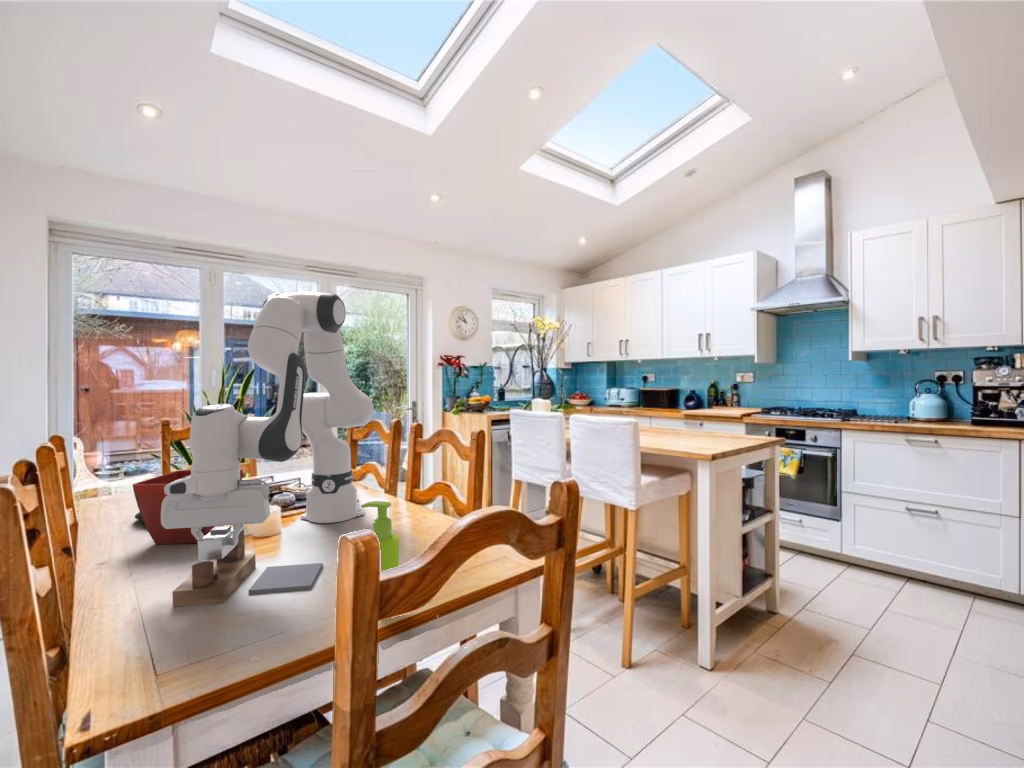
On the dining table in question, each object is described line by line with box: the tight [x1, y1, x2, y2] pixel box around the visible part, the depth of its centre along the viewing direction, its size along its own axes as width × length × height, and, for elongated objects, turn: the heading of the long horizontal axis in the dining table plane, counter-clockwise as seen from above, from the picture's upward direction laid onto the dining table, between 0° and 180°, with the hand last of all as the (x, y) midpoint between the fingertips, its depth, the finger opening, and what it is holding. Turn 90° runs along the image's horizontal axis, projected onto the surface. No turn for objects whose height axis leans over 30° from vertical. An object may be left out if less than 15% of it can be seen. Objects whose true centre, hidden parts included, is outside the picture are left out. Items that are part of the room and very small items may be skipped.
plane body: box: [172, 528, 257, 608], centre depth 102 cm, size 18×9×9 cm, turn 10°
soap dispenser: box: [361, 500, 400, 571], centre depth 92 cm, size 6×7×20 cm
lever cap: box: [197, 525, 237, 562], centre depth 102 cm, size 8×4×5 cm, turn 10°
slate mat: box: [248, 562, 324, 595], centre depth 104 cm, size 12×12×1 cm
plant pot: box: [132, 468, 244, 545], centre depth 133 cm, size 19×19×17 cm
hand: (218, 545), depth 102 cm, fingers closed on lever cap, 4 cm apart
